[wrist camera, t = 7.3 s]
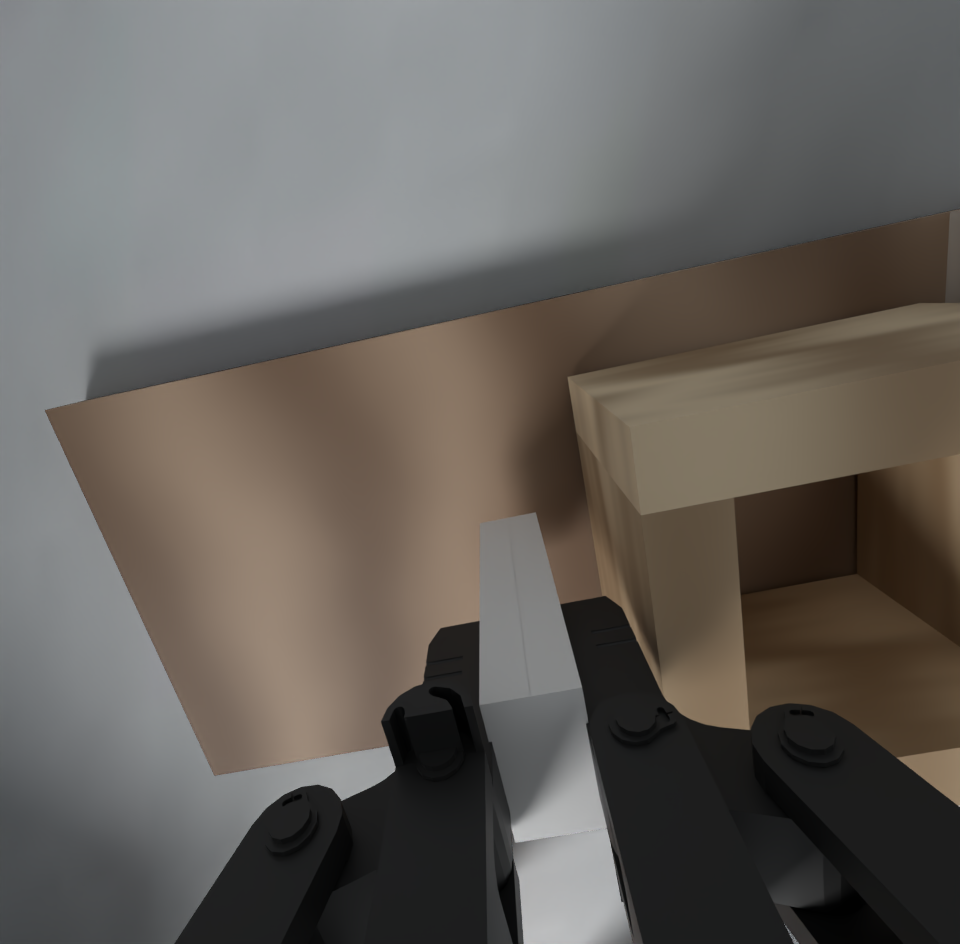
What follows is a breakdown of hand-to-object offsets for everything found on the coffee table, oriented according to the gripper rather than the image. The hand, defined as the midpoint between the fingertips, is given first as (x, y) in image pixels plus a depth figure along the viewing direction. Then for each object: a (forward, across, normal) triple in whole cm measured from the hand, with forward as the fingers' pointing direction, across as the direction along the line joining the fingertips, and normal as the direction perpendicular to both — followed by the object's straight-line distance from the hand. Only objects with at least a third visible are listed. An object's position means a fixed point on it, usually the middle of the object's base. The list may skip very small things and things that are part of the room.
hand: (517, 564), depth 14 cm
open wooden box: (+1, +7, 0) cm, 7 cm away
